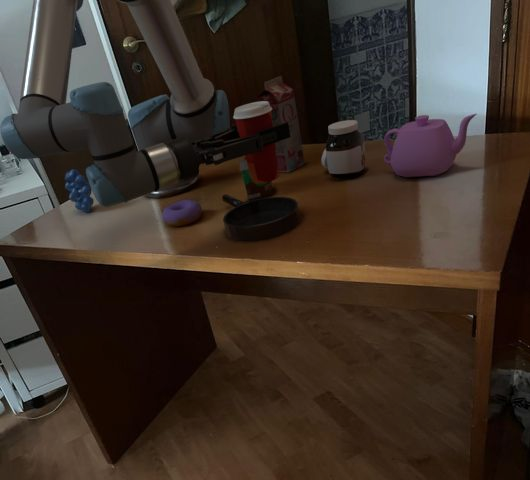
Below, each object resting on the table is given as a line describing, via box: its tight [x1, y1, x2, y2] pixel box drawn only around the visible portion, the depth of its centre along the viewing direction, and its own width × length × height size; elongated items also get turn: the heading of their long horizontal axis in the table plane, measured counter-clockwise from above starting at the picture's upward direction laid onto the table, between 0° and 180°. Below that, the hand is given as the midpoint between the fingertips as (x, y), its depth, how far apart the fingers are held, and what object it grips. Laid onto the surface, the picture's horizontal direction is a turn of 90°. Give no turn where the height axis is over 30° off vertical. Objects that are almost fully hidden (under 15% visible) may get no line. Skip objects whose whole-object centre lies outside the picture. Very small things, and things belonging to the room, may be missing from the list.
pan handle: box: [221, 193, 250, 208], centre depth 122 cm, size 12×3×2 cm, turn 27°
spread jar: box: [320, 119, 367, 180], centre depth 127 cm, size 12×11×12 cm
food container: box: [238, 156, 274, 201], centre depth 127 cm, size 12×6×10 cm, turn 168°
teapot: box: [383, 113, 478, 178], centre depth 116 cm, size 20×13×12 cm, turn 64°
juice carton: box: [256, 75, 306, 173], centre depth 138 cm, size 7×7×22 cm
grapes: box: [64, 168, 94, 213], centre depth 145 cm, size 12×7×12 cm, turn 46°
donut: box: [161, 199, 203, 227], centre depth 124 cm, size 10×9×5 cm
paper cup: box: [232, 101, 280, 183], centre depth 104 cm, size 8×8×14 cm
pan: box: [222, 196, 301, 242], centre depth 112 cm, size 16×16×3 cm
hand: (278, 127), depth 105 cm, fingers closed on paper cup, 8 cm apart
